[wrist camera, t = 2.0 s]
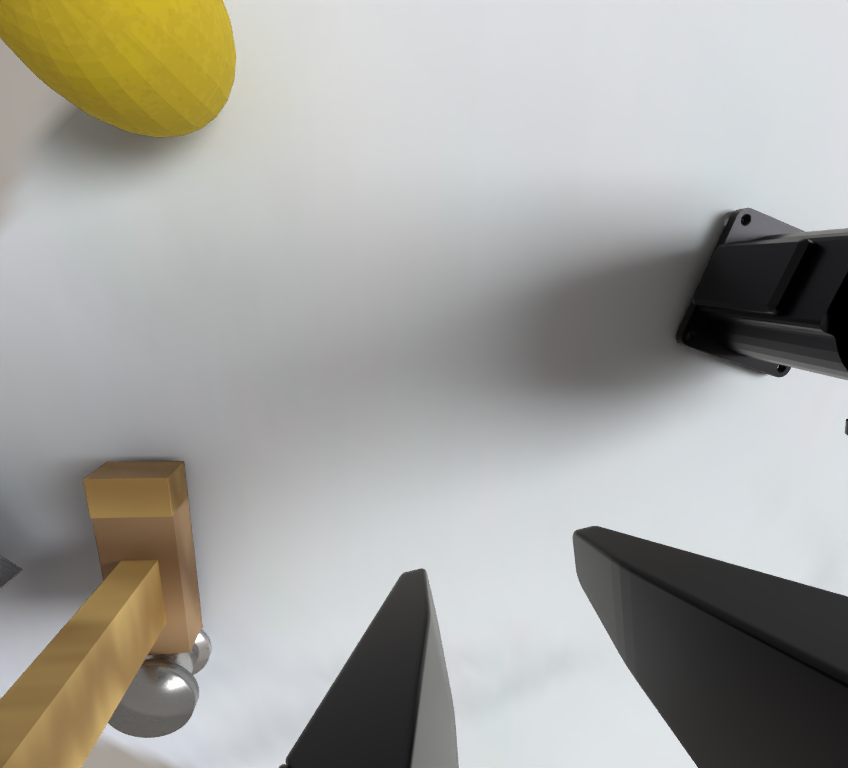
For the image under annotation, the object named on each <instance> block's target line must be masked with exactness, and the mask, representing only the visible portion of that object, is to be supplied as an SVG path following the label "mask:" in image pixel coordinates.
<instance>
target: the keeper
mask: <svg viewBox="0 0 848 768" xmlns="http://www.w3.org/2000/svg"><path fill="white" fill-rule="evenodd" d="M21 570H22V569H21V568H20V567H18V566H16V565H15V564H13V563H12V562H10V561H8V560H7V559H5V558H3V557H2V556H0V591H1V590H2V589H3V588H4V587H5V586H6V585H7V584H8V583H9V582H10V581H11V580H12V579H13V578H14V577H15V576H16V575H17V574H18V573H19V572H20V571H21Z"/></svg>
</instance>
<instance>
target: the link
mask: <svg viewBox="0 0 848 768" xmlns="http://www.w3.org/2000/svg"><path fill="white" fill-rule="evenodd" d="M83 482H84V487H85V493H86V498H87V504H88V509H89V515H90V518H92V521H93V527H94V532H95V538H96V543H97V549H98V554H99V560H100V565H101V571H102V576H103V582H102V583H101V585H100V586H99V587H98V588H97V589H96V590H95V591H94V593H93V594H92V595H91V596H90V597H89V598H88V599H87V601H86V602H85V603H84V604H83V605H82V606H81V608H80V609H79V610H78V611H77V612H76V613H75V614H74V616H73V617H72V618H71V619H70V620H69V621H68V622H67V624H66V625H65V626H64V627H63V628H62V629H61V630H60V632H59V633H58V634H57V635H56V636H55V637H54V638H53V640H52V641H51V642H50V643H49V644H48V645H47V647H46V648H45V649H44V650H43V651H42V652H41V653H40V655H39V656H38V657H37V658H36V659H35V660H34V661H33V663H32V664H31V665H30V666H29V667H28V668H27V669H26V671H25V672H24V673H23V674H22V675H21V676H20V677H19V679H18V680H17V681H16V682H15V683H14V684H13V686H12V687H11V688H10V689H9V690H8V691H7V692H6V694H5V695H4V696H3V697H2V698H1V699H0V768H81V767H82V765H83V763H84V762H85V760H86V758H87V757H88V755H89V753H90V752H91V750H92V748H93V747H94V745H95V743H96V741H97V740H98V738H99V736H100V735H101V733H102V731H103V730H104V728H105V726H106V725H107V723H108V721H109V719H110V718H111V716H112V714H113V713H114V711H115V709H116V708H117V706H118V704H119V703H120V701H121V699H122V697H123V696H124V694H125V692H126V691H127V689H128V687H129V686H130V684H131V682H132V680H133V679H134V677H135V675H136V674H137V672H138V670H139V669H140V667H141V665H142V664H143V662H144V660H145V658H146V657H147V655H156V654H173V653H190V652H191V649H192V647H193V645H194V643H195V641H196V639H197V637H198V635H199V633H200V631H201V629H202V627H203V626H202V617H201V608H200V599H199V590H198V581H197V572H196V563H195V554H194V545H193V536H192V527H191V518H190V509H189V500H188V491H187V482H186V473H185V464H184V461H163V462H106V463H105V464H104V465H102V466H101V467H99V468H98V469H97V470H95V471H94V472H92V473H91V474H90V475H88V476H87V477H86V478H84V479H83Z"/></svg>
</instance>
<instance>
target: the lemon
mask: <svg viewBox="0 0 848 768" xmlns="http://www.w3.org/2000/svg"><path fill="white" fill-rule="evenodd" d="M0 38H1V39H2V40H3V41H4V42H5V43H6V45H7V46H8V47H9V48H10V49H11V50H12V51H13V52H14V53H15V54H16V55H17V56H18V57H19V58H20V59H21V60H22V62H23V63H24V64H25V65H26V66H27V67H28V68H29V69H30V70H31V71H32V72H33V73H34V74H35V75H36V76H37V77H38V78H39V79H41V80H42V81H43V82H44V83H45V84H46V85H48V86H49V87H50V88H51V89H53V90H54V91H55V92H57V93H58V94H60V95H61V96H62V97H64V98H65V99H67V100H68V101H70V102H71V103H72V104H74V105H75V106H77V107H78V108H79V109H81V110H83V111H84V112H86V113H87V114H89V115H91V116H93V117H95V118H97V119H99V120H101V121H104V122H106V123H108V124H111V125H113V126H115V127H118V128H120V129H122V130H125V131H128V132H131V133H136V134H142V135H148V136H154V137H172V136H182V135H186V134H188V133H191V132H193V131H196V130H198V129H201V128H203V127H204V126H205V125H207V124H208V123H209V122H210V121H212V120H213V119H214V118H215V117H217V115H218V114H219V112H220V111H221V109H222V108H223V107H224V105H225V104H226V102H227V100H228V97H229V94H230V91H231V88H232V85H233V82H234V76H235V63H236V52H235V45H234V39H233V32H232V26H231V22H230V19H229V16H228V13H227V11H226V8H225V5H224V2H223V0H0Z"/></svg>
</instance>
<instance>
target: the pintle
mask: <svg viewBox="0 0 848 768" xmlns="http://www.w3.org/2000/svg"><path fill="white" fill-rule="evenodd" d="M210 654H211V642H210V639H209V638H208V636H207V635H206V634H205V633H204V632H203V631H202V630H201V631H200V633H199V635H198V637H197V639H196V641H195V643H194V645H193V647H192V649H191V652H190V653H173V654H156V655H147V657H146V658H145V660H144V662H143V664H142V665H141V667H140V669H139V670H138V672H137V674H136V675H135V677H134V679H133V680H132V682H131V684H130V686H129V687H128V689H127V691H126V692H125V694H124V696H123V697H122V699H121V701H120V703H119V704H118V706H117V708H116V709H115V711H114V713H113V714H112V716H111V718H110V719H109V721H108V723H109V724H110V725H111V726H112V727H113V728H115V729H117V730H118V731H120V732H122V733H125V734H128V735H131V736H135V737H143V738H152V737H160V736H164V735H167V734H170V733H172V732H175V731H176V730H178V729H180V728H181V727H182V726H184V725H185V724H186V723H187V721H188V720H189V719H190V717H191V715H192V713H193V711H194V708H195V706H196V703H197V701H198V698H199V687H198V684H197V681H196V679H195V678H194V676H193V675H194V674H196V673H197V672H199V671H200V670H201V669H202V668H203V667H204V666H205V665H206V663H207V661H208V659H209V657H210Z"/></svg>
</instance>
